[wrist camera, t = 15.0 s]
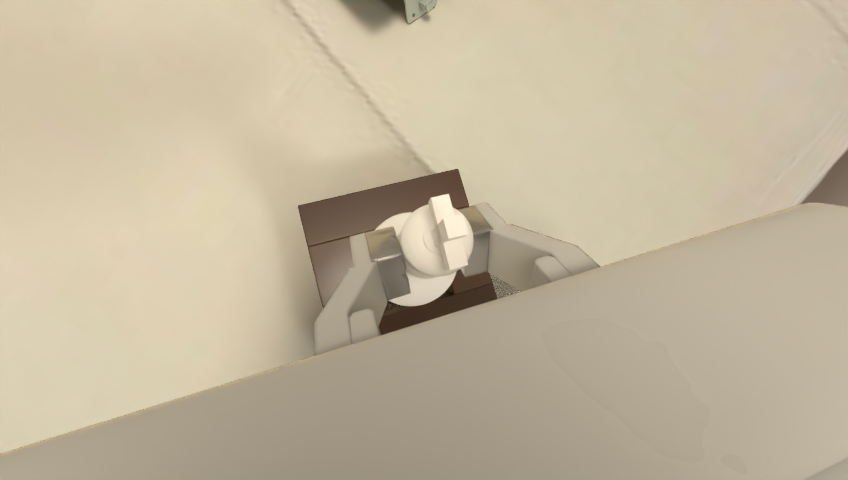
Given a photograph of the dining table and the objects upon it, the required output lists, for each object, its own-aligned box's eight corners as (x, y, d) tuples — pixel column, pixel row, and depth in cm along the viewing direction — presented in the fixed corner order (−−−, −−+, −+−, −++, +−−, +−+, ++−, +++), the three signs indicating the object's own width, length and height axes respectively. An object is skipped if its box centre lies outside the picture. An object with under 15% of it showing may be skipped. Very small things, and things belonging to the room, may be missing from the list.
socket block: (488, 317, 25) (504, 323, 22) (346, 363, 23) (339, 377, 20) (448, 182, 26) (458, 168, 23) (309, 215, 24) (297, 205, 21)
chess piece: (377, 317, 15) (364, 384, 6) (354, 224, 16) (307, 136, 6) (467, 291, 16) (596, 311, 6) (443, 204, 17) (530, 97, 7)
